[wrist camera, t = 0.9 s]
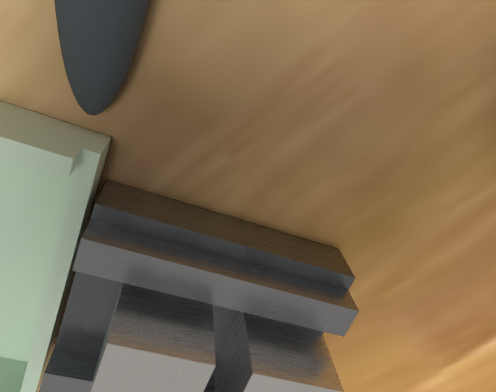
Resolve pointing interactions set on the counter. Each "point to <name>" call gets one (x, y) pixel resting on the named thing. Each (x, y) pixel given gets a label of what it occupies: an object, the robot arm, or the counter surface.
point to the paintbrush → (98, 46)
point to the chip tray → (40, 232)
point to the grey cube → (274, 358)
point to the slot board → (191, 275)
